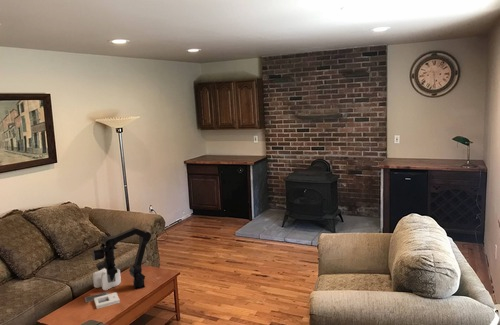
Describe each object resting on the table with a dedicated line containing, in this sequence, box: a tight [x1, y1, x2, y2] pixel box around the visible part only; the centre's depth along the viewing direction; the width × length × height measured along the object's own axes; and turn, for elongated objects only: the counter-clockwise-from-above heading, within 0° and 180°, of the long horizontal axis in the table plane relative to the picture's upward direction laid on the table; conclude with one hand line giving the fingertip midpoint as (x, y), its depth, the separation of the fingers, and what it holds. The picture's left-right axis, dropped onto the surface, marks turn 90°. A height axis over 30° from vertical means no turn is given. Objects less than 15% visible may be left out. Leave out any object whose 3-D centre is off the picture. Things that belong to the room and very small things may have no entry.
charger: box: [107, 275, 115, 283], centre depth 262 cm, size 5×4×6 cm
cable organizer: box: [92, 268, 122, 291], centre depth 277 cm, size 15×11×12 cm
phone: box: [84, 291, 109, 303], centre depth 262 cm, size 7×14×1 cm, turn 118°
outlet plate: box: [93, 292, 121, 310], centre depth 256 cm, size 14×12×2 cm
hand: (111, 279), depth 262 cm, fingers closed on charger, 4 cm apart
